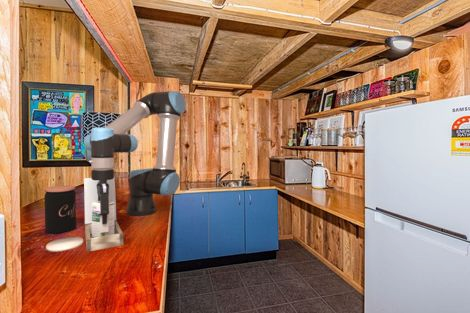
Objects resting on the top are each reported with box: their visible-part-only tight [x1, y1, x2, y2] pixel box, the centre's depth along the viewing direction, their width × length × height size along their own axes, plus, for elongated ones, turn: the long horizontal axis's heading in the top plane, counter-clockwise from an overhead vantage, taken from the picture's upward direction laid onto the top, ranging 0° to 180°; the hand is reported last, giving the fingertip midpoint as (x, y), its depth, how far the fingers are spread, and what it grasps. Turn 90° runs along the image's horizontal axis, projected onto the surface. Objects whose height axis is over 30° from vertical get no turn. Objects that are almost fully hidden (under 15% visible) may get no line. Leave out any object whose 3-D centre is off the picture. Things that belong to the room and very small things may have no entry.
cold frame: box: [84, 220, 124, 252], centre depth 96 cm, size 11×18×4 cm, turn 32°
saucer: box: [45, 236, 84, 252], centre depth 90 cm, size 11×11×1 cm
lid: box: [83, 176, 117, 225], centre depth 105 cm, size 11×18×1 cm
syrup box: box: [91, 201, 115, 238], centre depth 95 cm, size 6×6×14 cm
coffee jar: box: [43, 185, 77, 235], centre depth 105 cm, size 11×11×18 cm
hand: (103, 228), depth 95 cm, fingers closed on syrup box, 8 cm apart
